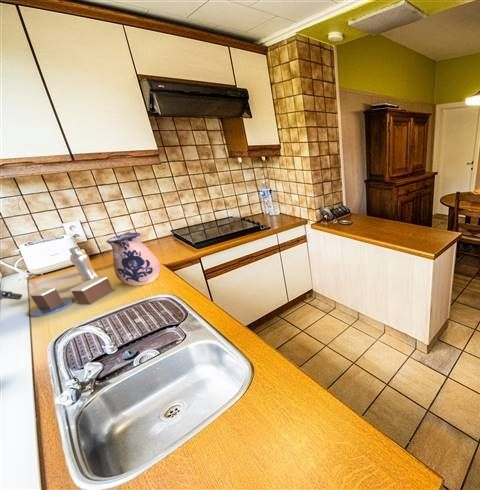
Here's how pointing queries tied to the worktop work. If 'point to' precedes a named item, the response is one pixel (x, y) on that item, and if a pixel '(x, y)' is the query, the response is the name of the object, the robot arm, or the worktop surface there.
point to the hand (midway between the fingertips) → (11, 296)
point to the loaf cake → (91, 290)
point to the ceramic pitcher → (133, 260)
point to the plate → (42, 312)
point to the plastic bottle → (82, 264)
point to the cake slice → (46, 298)
